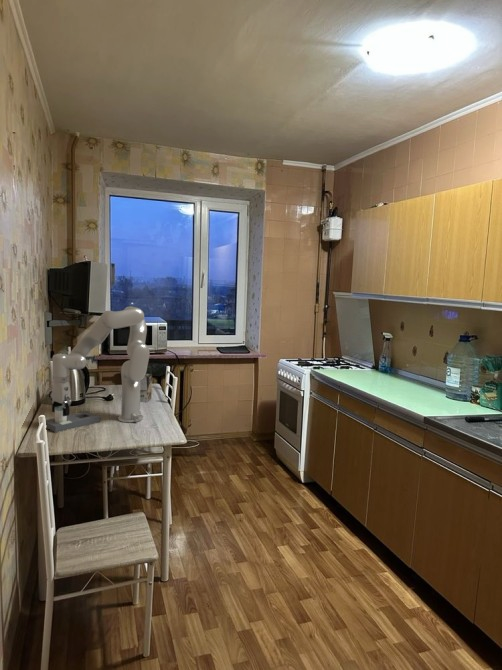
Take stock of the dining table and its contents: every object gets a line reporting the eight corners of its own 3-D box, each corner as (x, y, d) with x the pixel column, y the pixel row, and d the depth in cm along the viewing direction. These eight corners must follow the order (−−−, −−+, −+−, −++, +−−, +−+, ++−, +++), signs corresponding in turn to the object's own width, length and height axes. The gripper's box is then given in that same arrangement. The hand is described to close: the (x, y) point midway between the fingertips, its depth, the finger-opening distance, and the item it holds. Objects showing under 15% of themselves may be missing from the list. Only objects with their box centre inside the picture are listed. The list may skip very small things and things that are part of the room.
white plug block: (66, 427, 219) (66, 407, 218) (58, 428, 216) (59, 408, 215) (62, 425, 222) (62, 405, 220) (54, 426, 218) (54, 407, 217)
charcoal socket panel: (99, 421, 230) (99, 415, 229) (55, 432, 210) (55, 425, 210) (86, 416, 237) (86, 410, 236) (42, 426, 218) (42, 420, 217)
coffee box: (147, 402, 271) (148, 376, 269) (137, 401, 271) (138, 375, 269) (151, 398, 280) (152, 373, 278) (141, 397, 280) (142, 372, 278)
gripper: (77, 381, 214) (77, 415, 216) (58, 375, 224) (58, 408, 226) (63, 383, 208) (63, 419, 210) (44, 377, 218) (44, 411, 220)
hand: (60, 413), depth 218 cm, fingers open, 9 cm apart
